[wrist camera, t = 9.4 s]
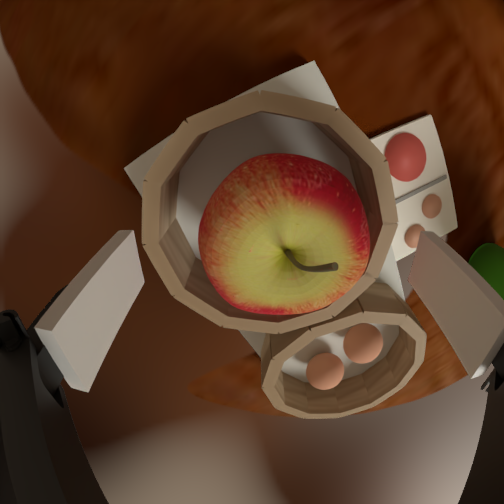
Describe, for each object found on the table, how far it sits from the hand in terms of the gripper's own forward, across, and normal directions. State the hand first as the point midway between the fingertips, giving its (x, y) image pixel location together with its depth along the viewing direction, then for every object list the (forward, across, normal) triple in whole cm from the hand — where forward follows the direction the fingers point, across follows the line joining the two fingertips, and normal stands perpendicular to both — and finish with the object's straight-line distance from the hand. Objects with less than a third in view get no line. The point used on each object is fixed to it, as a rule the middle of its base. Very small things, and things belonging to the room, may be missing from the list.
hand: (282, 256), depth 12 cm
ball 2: (+7, +8, -11) cm, 15 cm away
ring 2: (+7, +6, -13) cm, 16 cm away
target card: (+8, +11, +1) cm, 14 cm away
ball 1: (+7, +5, -15) cm, 17 cm away
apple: (+7, 0, 0) cm, 7 cm away
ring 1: (+7, 0, 0) cm, 7 cm away
